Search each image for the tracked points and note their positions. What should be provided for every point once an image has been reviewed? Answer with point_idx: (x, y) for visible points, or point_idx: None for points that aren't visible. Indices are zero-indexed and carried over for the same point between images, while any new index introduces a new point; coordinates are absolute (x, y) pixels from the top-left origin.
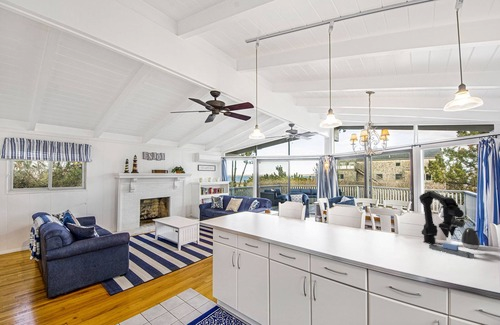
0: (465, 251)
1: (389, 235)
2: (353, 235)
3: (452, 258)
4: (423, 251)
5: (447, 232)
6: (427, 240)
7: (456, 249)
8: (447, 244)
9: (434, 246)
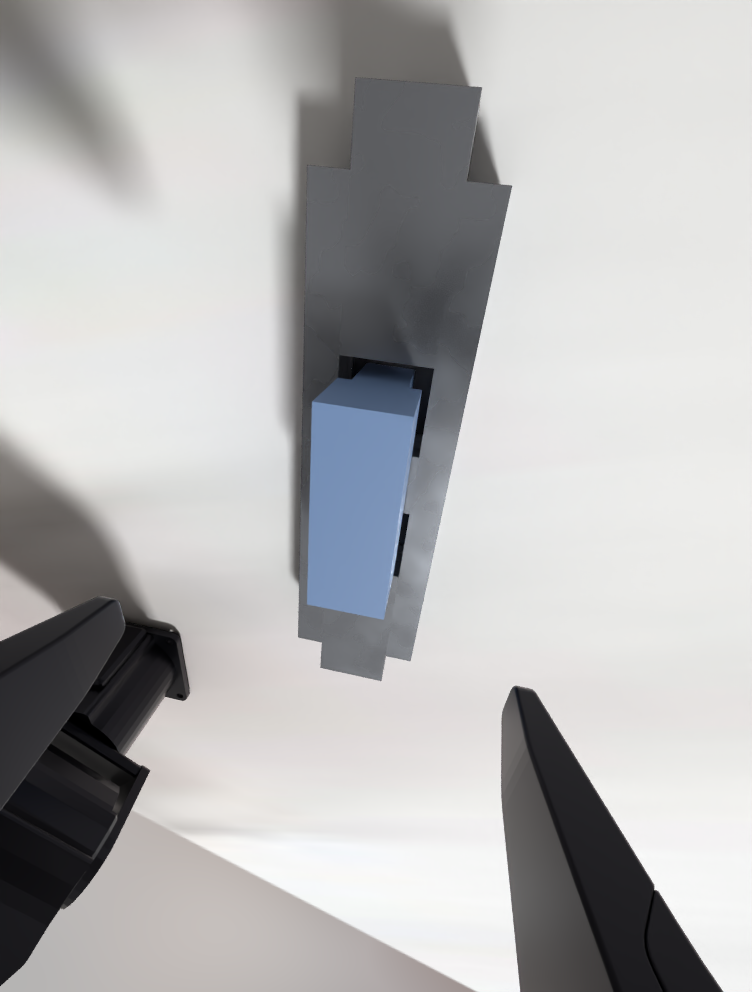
0: (309, 265)
1: (242, 856)
2: (486, 986)
3: (739, 388)
4: (603, 677)
5: (695, 980)
6: (162, 692)
7: (420, 398)
8: (394, 552)
9: (407, 636)
